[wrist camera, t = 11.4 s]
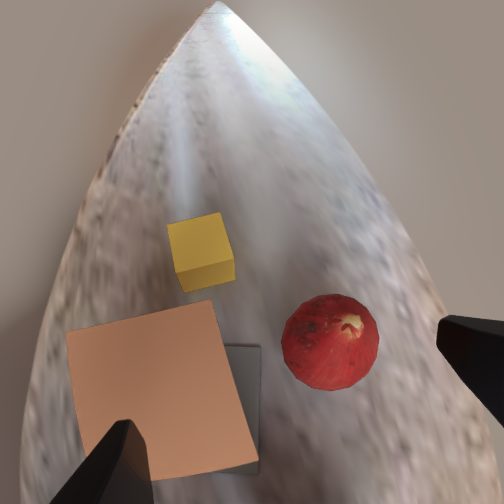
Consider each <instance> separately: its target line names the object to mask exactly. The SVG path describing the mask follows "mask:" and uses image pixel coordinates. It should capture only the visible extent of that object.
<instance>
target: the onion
mask: <svg viewBox="0 0 504 504" xmlns="http://www.w3.org/2000/svg"><path fill="white" fill-rule="evenodd" d="M281 344H282V350H283V355H284V361H285V363H286V365H287V366H288V367H289V369H290V370H291V372H292V373H293V374H294V376H295V377H296V378H297V379H299V380H300V381H302V382H303V383H305V384H307V385H308V386H310V387H311V388H315V389H321V390H327V391H334V390H339V389H344V388H349V387H351V386H352V385H354V384H355V383H356V382H358V381H359V380H360V379H362V378H363V377H365V375H366V374H367V373H368V372H369V370H370V368H371V367H372V365H373V363H374V361H375V360H376V358H377V351H378V344H379V334H378V330H377V325H376V322H375V320H374V319H373V317H372V316H371V314H370V313H369V311H368V309H367V308H366V307H365V306H363V305H362V304H361V303H359V302H358V301H357V300H355V299H354V298H351V297H347V296H343V295H340V294H331V295H321V296H317V297H315V298H313V299H311V300H309V301H307V302H305V303H303V304H302V305H301V306H300V307H299V308H298V309H297V310H296V311H295V313H294V314H293V315H292V316H291V317H290V318H289V319H288V320H287V322H286V325H285V329H284V333H283V336H282V340H281Z"/></svg>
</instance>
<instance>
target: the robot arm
mask: <svg viewBox="0 0 504 504" xmlns="http://www.w3.org/2000/svg"><path fill="white" fill-rule="evenodd" d="M436 345H437V348H438V349H439V351H440V352H441V353H442V355H443V356H444V357H445V359H446V360H447V361H448V363H449V364H450V365H451V367H452V368H453V369H454V371H455V372H456V373H457V375H458V376H459V377H460V379H461V380H462V381H463V382H464V383H465V385H466V386H467V387H468V388H469V389H470V390H471V391H472V392H473V393H474V395H475V396H476V397H477V398H478V399H479V400H480V401H481V402H482V403H483V405H484V406H485V407H486V408H487V409H488V410H489V411H490V413H491V414H492V415H493V416H494V417H495V418H496V419H497V421H498V422H499V423H500V424H501V425H502V426H503V428H504V321H498V320H489V319H480V318H472V317H464V316H456V315H448V316H446V317H444V318H442V319H441V320H440V321H439V323H438V331H437V339H436ZM49 504H154V500H153V490H152V483H151V476H150V470H149V463H148V455H147V447H146V443H145V440H144V438H143V437H142V435H141V433H140V432H139V430H138V428H137V427H136V425H135V423H134V422H133V421H132V420H131V419H124V420H118V421H116V422H115V423H114V424H113V425H112V426H111V428H110V429H109V430H108V431H107V433H106V434H105V435H104V436H103V437H102V439H101V440H100V441H99V442H98V444H97V445H96V446H95V447H94V449H93V450H92V451H91V452H90V454H89V455H88V456H87V457H86V459H85V460H84V461H83V462H82V464H81V465H80V466H79V467H78V468H77V470H76V471H75V472H74V473H73V475H72V476H71V477H70V478H69V480H68V481H67V482H66V483H65V485H64V486H63V487H62V488H61V490H60V491H59V492H58V493H57V495H56V496H55V497H54V498H53V499H52V501H51V502H50V503H49Z"/></svg>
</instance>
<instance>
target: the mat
mask: <svg viewBox="0 0 504 504" xmlns="http://www.w3.org/2000/svg"><path fill="white" fill-rule="evenodd" d="M224 348H225V351H226V355H227V358H228V362H229V365H230V368H231V372H232V375H233V379H234V382H235V385H236V389H237V392H238V395H239V398H240V402H241V405H242V408H243V411H244V414H245V418H246V421H247V424H248V427H249V430H250V433H251V436H252V439H253V442H254V445H255V449H256V452H257V455H258V448H259V410H260V366H261V347H236V346H224ZM212 472H217V473H234V474H258V461H254V462H251V463H247V464H243V465H239V466H235V467H230V468H226V469H222V470H217V471H212Z"/></svg>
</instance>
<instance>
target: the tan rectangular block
mask: <svg viewBox="0 0 504 504" xmlns="http://www.w3.org/2000/svg"><path fill="white" fill-rule="evenodd" d="M66 341H67V352H68V361H69V370H70V377H71V384H72V391H73V397H74V403H75V409H76V414H77V419H78V424H79V429H80V434H81V438H82V442H83V447H84V451H85V454H86V457H87V456H88V455H89V454H90V452H91V451H92V450H93V449H94V447H95V446H96V445H97V444H98V442H99V441H100V440H101V439H102V437H103V436H104V435H105V434H106V433H107V431H108V430H109V429H110V428H111V426H112V425H113V424H114V423H115V422H116V421H118V420H124V419H131V420H132V421H133V422H134V423H135V425H136V427H137V428H138V430H139V432H140V433H141V435H142V437H143V438H144V440H145V443H146V447H147V455H148V463H149V470H150V476H151V481H155V480H164V479H171V478H178V477H184V476H191V475H196V474H202V473H207V472H212V471H217V470H222V469H226V468H230V467H235V466H239V465H243V464H247V463H251V462H254V461H258V460H259V458H258V455H257V452H256V449H255V445H254V442H253V439H252V436H251V433H250V430H249V427H248V424H247V421H246V418H245V414H244V411H243V408H242V405H241V402H240V398H239V395H238V392H237V389H236V385H235V382H234V379H233V375H232V372H231V368H230V365H229V362H228V358H227V355H226V351H225V348H224V344H223V341H222V337H221V334H220V330H219V326H218V323H217V319H216V315H215V312H214V308H213V304H212V301H211V299H208V300H204V301H200V302H196V303H192V304H188V305H184V306H180V307H176V308H171V309H167V310H163V311H159V312H155V313H150V314H146V315H142V316H138V317H133V318H129V319H124V320H120V321H116V322H111V323H107V324H102V325H97V326H93V327H88V328H84V329H79V330H74V331H69V332H66Z"/></svg>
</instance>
